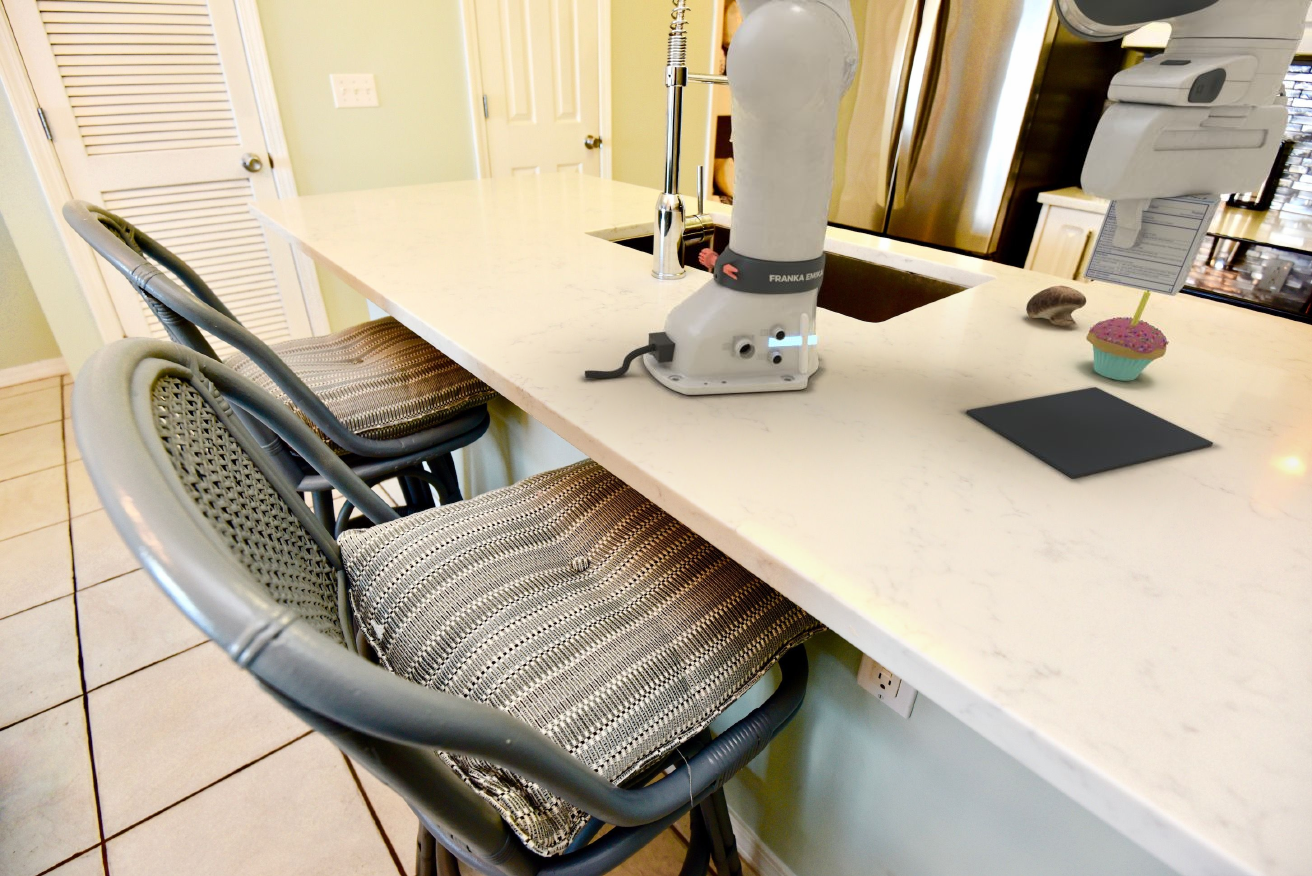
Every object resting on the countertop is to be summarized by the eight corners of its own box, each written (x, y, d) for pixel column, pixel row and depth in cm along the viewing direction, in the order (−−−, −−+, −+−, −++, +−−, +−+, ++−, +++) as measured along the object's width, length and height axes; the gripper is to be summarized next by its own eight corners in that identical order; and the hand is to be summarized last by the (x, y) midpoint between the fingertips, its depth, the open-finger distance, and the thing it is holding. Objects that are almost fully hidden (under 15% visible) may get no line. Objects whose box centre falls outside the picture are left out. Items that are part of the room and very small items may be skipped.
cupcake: (1152, 393, 81) (1196, 297, 75) (1073, 376, 84) (1108, 283, 78) (1151, 369, 87) (1190, 279, 81) (1077, 354, 91) (1110, 267, 85)
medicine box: (1183, 288, 65) (1224, 195, 60) (1174, 298, 62) (1216, 201, 57) (1093, 270, 69) (1125, 183, 65) (1081, 278, 66) (1114, 187, 62)
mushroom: (1099, 315, 95) (1088, 274, 96) (1037, 330, 98) (1027, 290, 98) (1085, 325, 102) (1075, 286, 103) (1028, 339, 105) (1018, 301, 106)
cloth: (1072, 478, 63) (1073, 475, 63) (965, 413, 75) (966, 409, 74) (1211, 445, 70) (1213, 442, 70) (1094, 389, 81) (1095, 386, 81)
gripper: (1255, 80, 62) (1191, 230, 69) (1097, 76, 56) (1044, 243, 63) (1334, 83, 57) (1256, 245, 64) (1171, 79, 51) (1104, 260, 58)
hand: (1150, 244), depth 63 cm, fingers closed on medicine box, 6 cm apart
